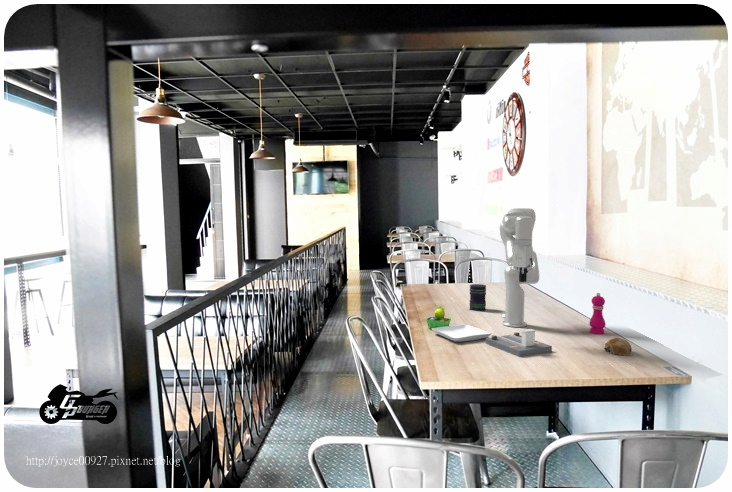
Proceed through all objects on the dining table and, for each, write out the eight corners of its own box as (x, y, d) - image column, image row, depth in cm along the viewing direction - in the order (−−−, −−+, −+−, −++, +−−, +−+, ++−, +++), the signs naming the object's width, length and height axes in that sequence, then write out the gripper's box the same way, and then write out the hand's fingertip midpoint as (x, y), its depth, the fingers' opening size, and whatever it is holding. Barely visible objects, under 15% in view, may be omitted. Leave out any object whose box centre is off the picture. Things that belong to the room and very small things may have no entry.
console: (485, 343, 220) (485, 335, 220) (516, 339, 227) (516, 331, 227) (519, 356, 200) (519, 347, 200) (551, 351, 207) (551, 342, 207)
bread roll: (625, 364, 201) (635, 349, 198) (601, 351, 205) (610, 335, 203) (626, 358, 209) (636, 343, 207) (603, 345, 214) (612, 330, 211)
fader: (520, 345, 208) (521, 330, 207) (530, 343, 210) (530, 328, 210) (525, 346, 205) (525, 331, 205) (535, 345, 207) (535, 330, 207)
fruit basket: (425, 329, 247) (425, 307, 246) (431, 325, 255) (431, 304, 254) (446, 331, 242) (446, 309, 241) (452, 327, 250) (452, 306, 249)
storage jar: (487, 311, 291) (487, 286, 290) (471, 311, 291) (471, 286, 290) (483, 307, 301) (484, 284, 300) (468, 307, 301) (468, 284, 300)
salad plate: (430, 334, 238) (430, 327, 238) (466, 330, 246) (466, 323, 246) (454, 345, 219) (454, 337, 218) (492, 340, 227) (492, 333, 227)
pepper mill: (607, 334, 235) (608, 294, 234) (591, 334, 236) (592, 293, 235) (602, 331, 242) (604, 291, 241) (587, 330, 244) (588, 291, 242)
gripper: (506, 242, 232) (505, 280, 233) (528, 244, 218) (527, 284, 220) (518, 241, 235) (517, 279, 236) (541, 243, 221) (540, 283, 223)
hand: (522, 281), depth 228 cm, fingers closed
